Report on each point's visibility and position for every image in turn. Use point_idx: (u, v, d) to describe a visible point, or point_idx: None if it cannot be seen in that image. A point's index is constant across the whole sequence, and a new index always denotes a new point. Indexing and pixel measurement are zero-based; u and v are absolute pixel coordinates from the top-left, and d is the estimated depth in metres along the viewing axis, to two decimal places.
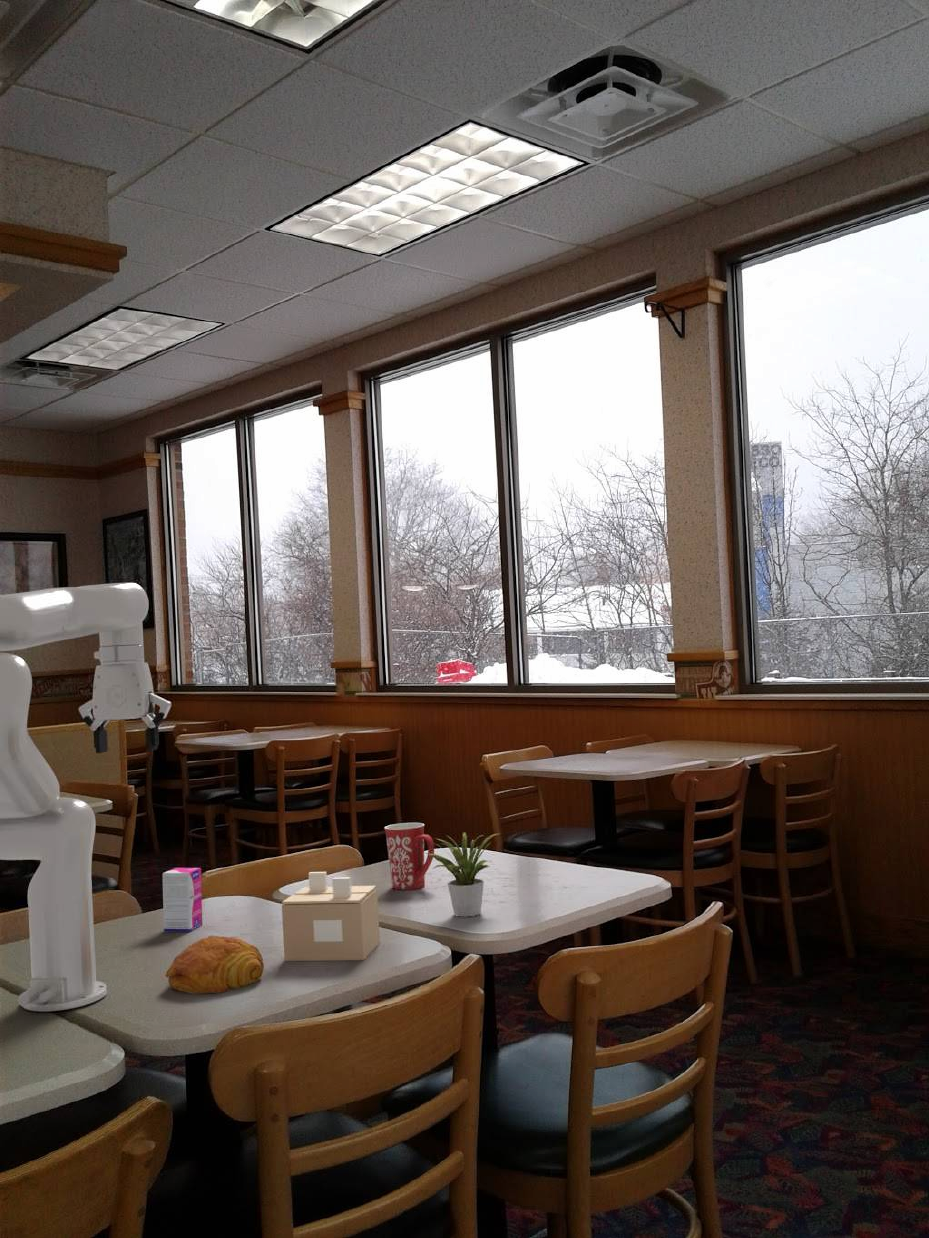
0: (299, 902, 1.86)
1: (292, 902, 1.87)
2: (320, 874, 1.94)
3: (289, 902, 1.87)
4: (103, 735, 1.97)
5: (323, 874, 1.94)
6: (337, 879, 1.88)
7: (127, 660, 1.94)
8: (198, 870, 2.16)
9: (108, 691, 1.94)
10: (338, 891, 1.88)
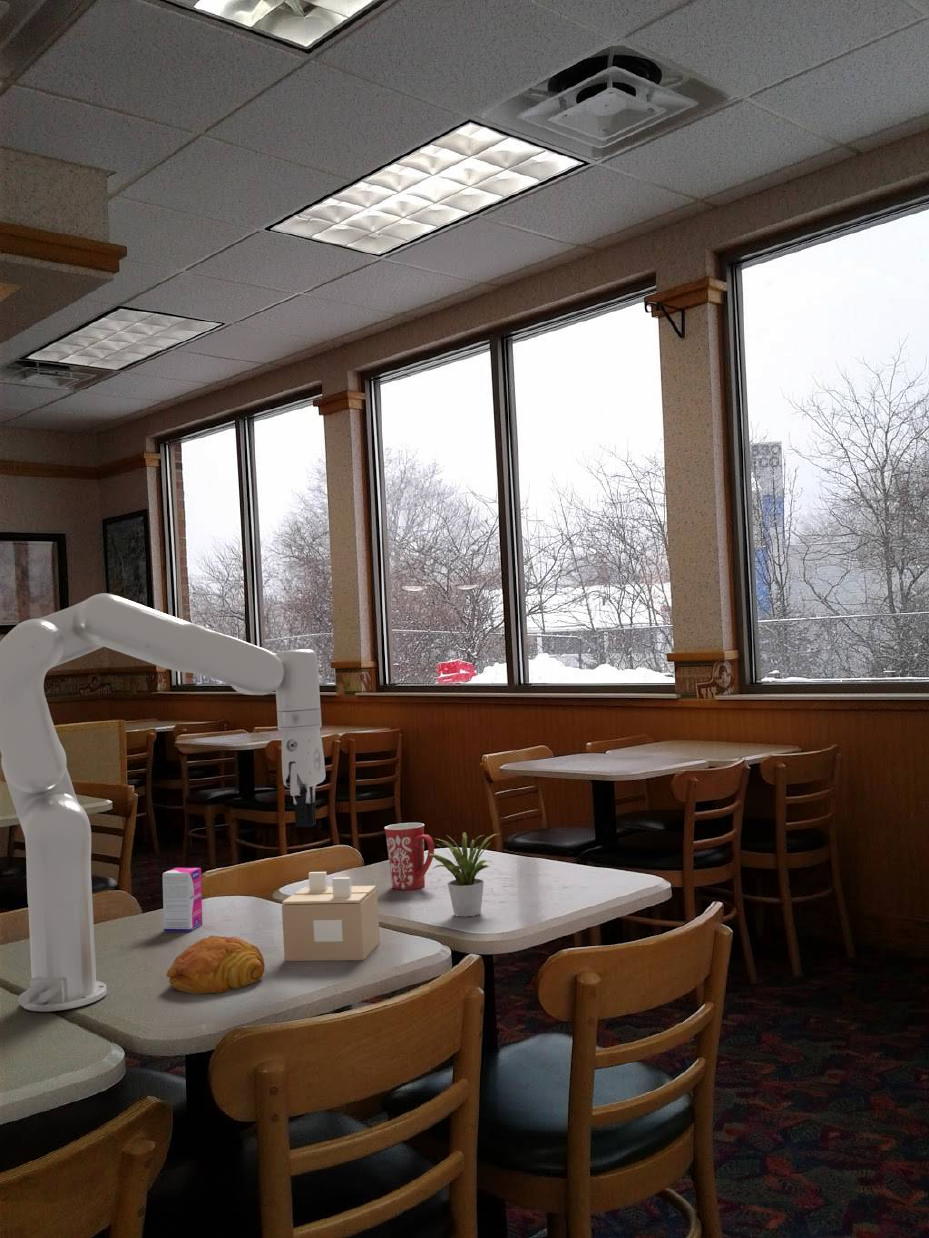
0: (299, 902, 1.86)
1: (292, 902, 1.87)
2: (320, 874, 1.94)
3: (289, 902, 1.87)
4: None
5: (323, 874, 1.94)
6: (337, 879, 1.88)
7: None
8: (198, 870, 2.16)
9: (314, 755, 1.88)
10: (338, 891, 1.88)
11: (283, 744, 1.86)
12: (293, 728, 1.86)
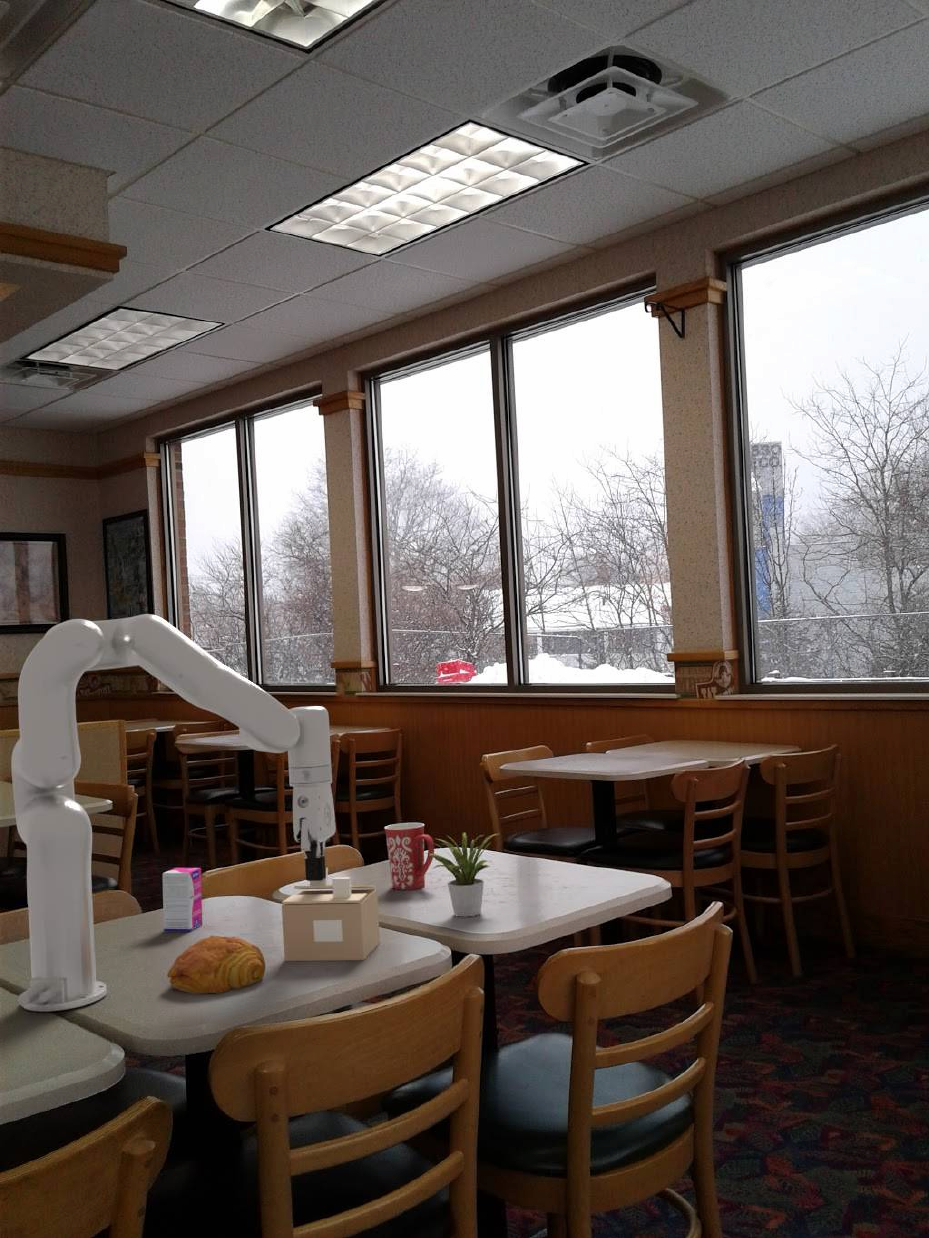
0: (299, 902, 1.86)
1: (292, 902, 1.87)
2: None
3: (289, 902, 1.87)
4: None
5: None
6: (337, 879, 1.88)
7: None
8: (198, 870, 2.16)
9: (324, 811, 1.92)
10: (338, 891, 1.88)
11: (294, 800, 1.90)
12: (304, 784, 1.90)
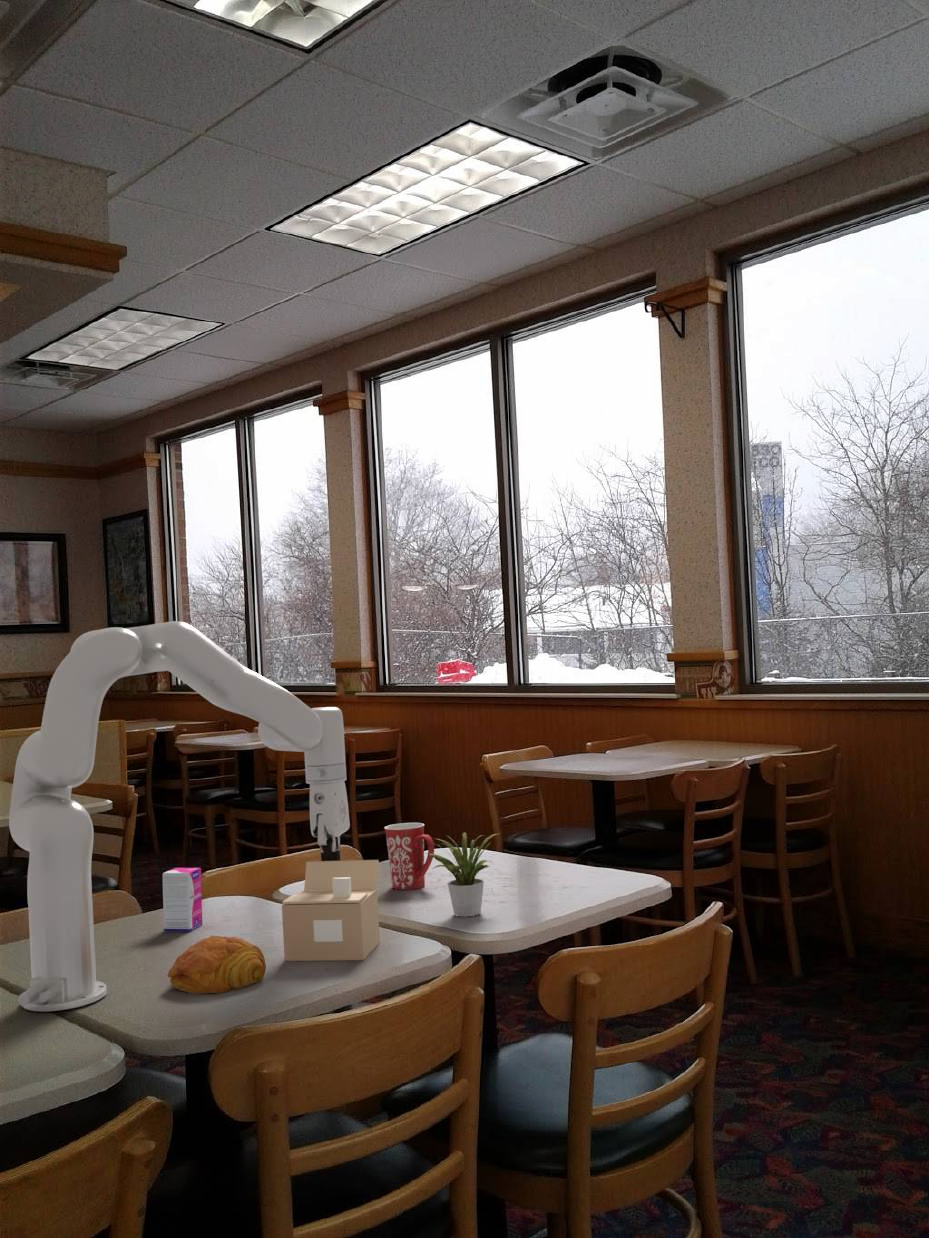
0: (299, 902, 1.86)
1: (292, 902, 1.87)
2: None
3: (289, 902, 1.87)
4: None
5: None
6: (337, 879, 1.88)
7: None
8: (198, 870, 2.16)
9: (339, 807, 2.01)
10: (338, 891, 1.88)
11: (311, 797, 1.99)
12: (320, 782, 1.99)
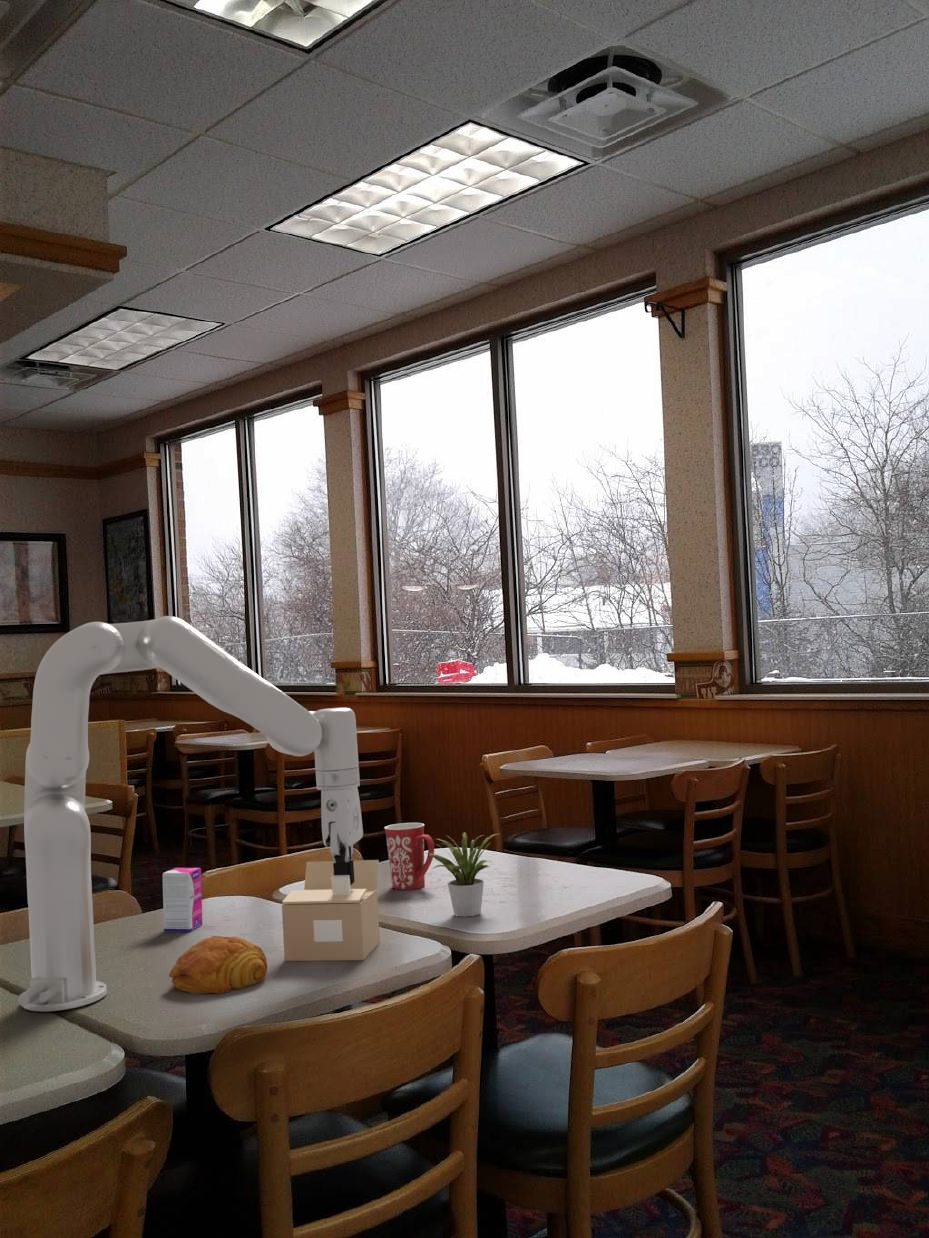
0: (299, 902, 1.86)
1: (292, 902, 1.87)
2: None
3: (289, 902, 1.87)
4: None
5: None
6: (336, 878, 1.87)
7: None
8: (198, 870, 2.16)
9: (353, 814, 1.88)
10: (337, 889, 1.88)
11: (323, 804, 1.86)
12: (333, 788, 1.87)
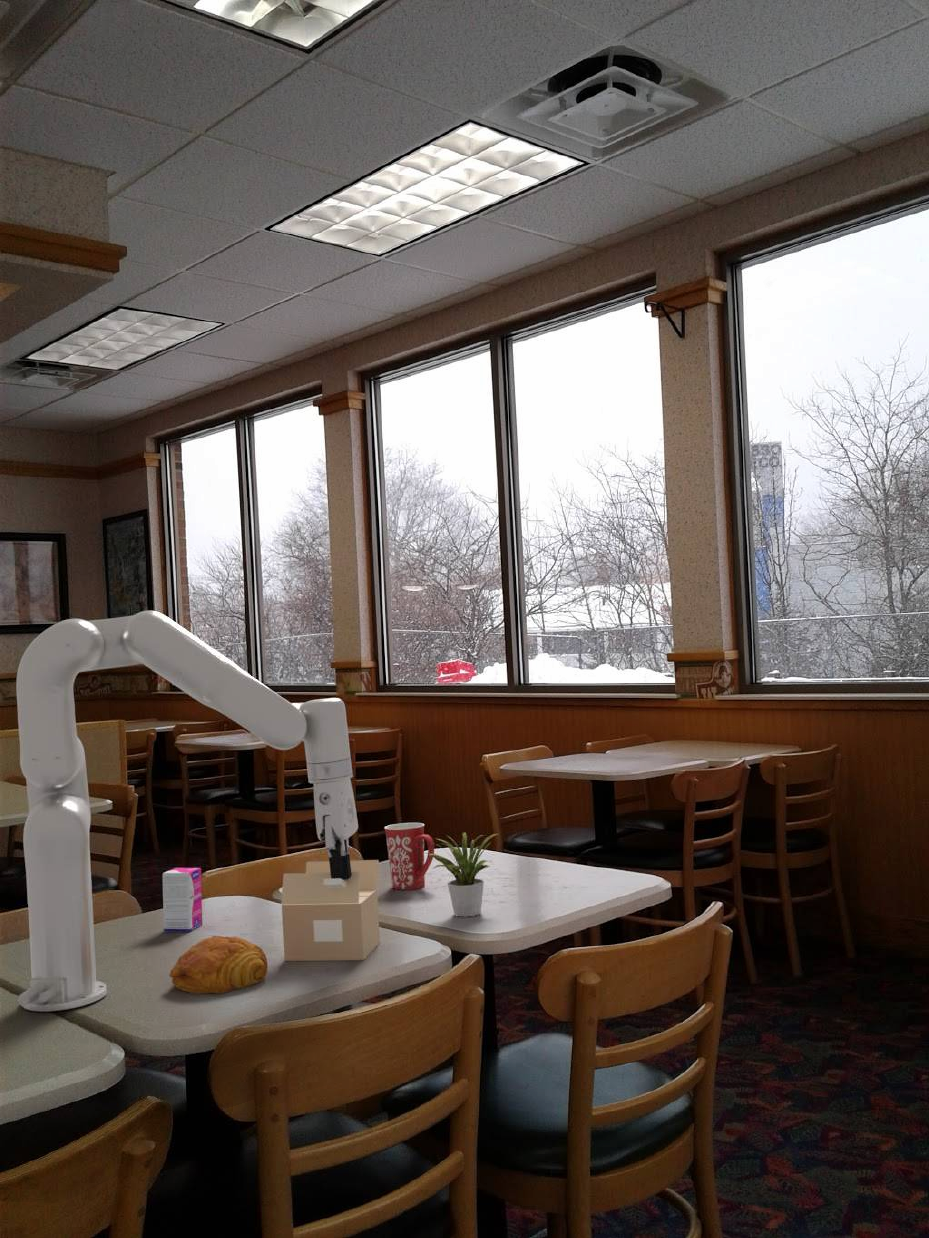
0: None
1: (291, 903, 1.86)
2: None
3: (288, 903, 1.86)
4: None
5: None
6: (328, 884, 1.83)
7: None
8: (198, 870, 2.16)
9: (347, 807, 1.84)
10: (332, 887, 1.85)
11: (316, 797, 1.81)
12: (325, 780, 1.82)
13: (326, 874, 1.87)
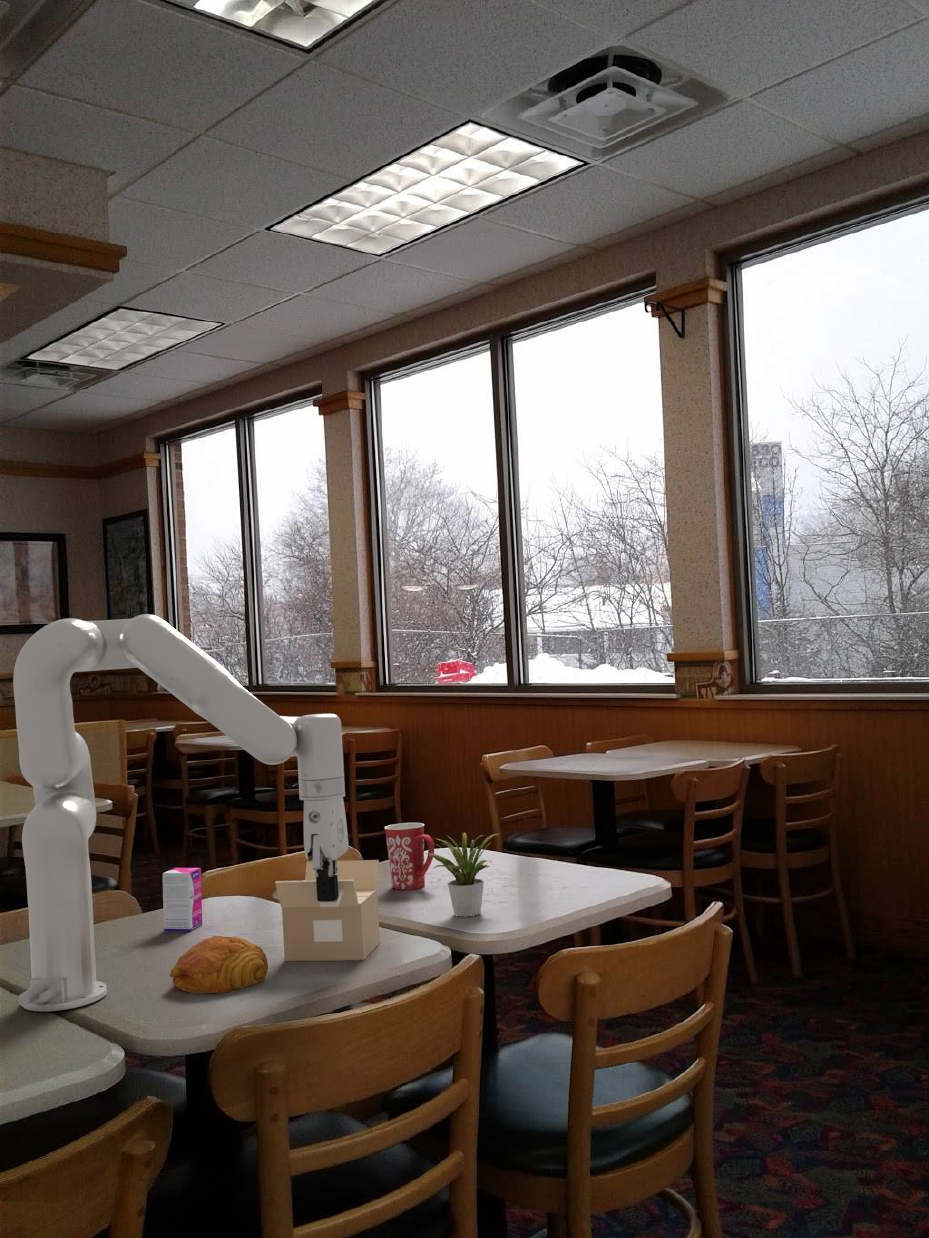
0: None
1: None
2: None
3: None
4: None
5: None
6: None
7: None
8: (198, 870, 2.16)
9: (337, 827, 1.79)
10: None
11: (305, 815, 1.76)
12: (316, 798, 1.77)
13: None
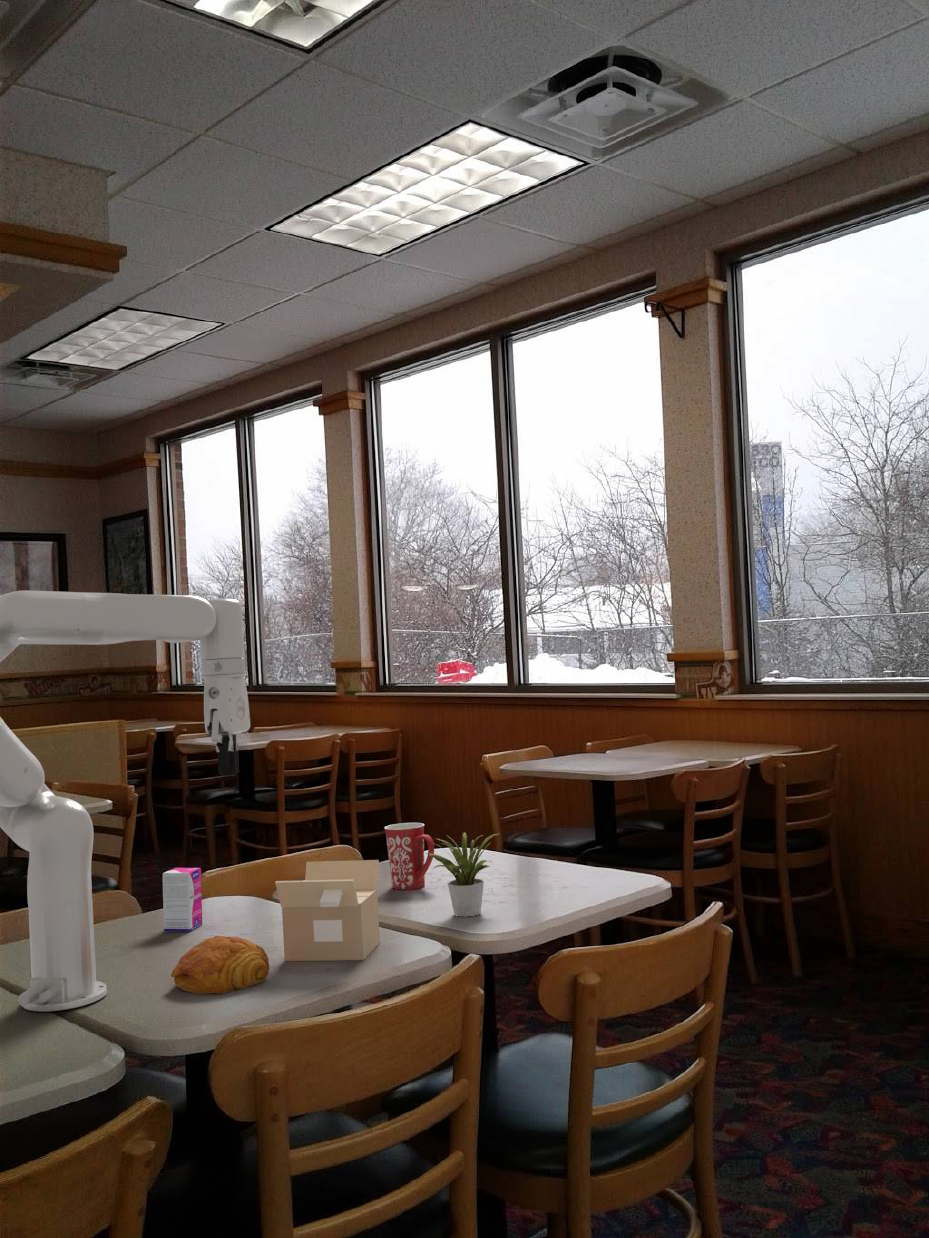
0: None
1: None
2: None
3: None
4: None
5: None
6: None
7: None
8: (198, 870, 2.16)
9: (236, 704, 1.89)
10: None
11: (205, 691, 1.87)
12: (216, 676, 1.88)
13: (319, 883, 1.83)
